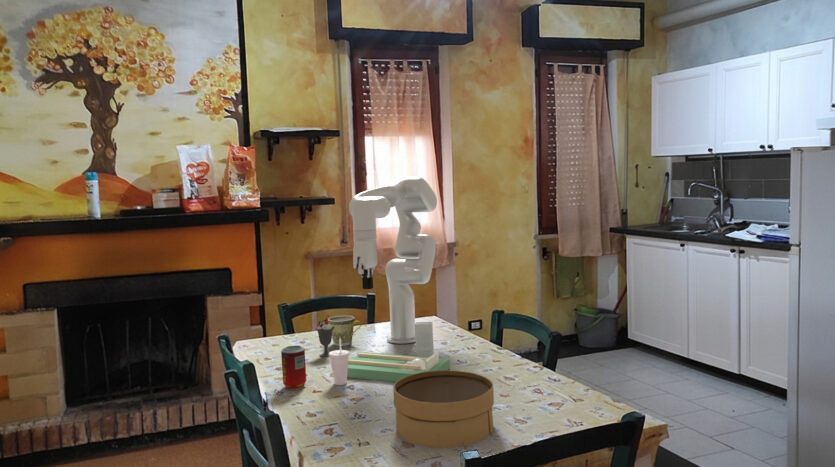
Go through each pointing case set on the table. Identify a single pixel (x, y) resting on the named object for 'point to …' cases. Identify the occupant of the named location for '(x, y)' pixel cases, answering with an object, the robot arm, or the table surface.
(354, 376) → the green
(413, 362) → the ball
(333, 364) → the smoothie
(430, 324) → the skincare box
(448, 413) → the steamer basket
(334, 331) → the ceramic cup
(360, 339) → the table surface
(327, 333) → the sundae
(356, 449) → the table surface
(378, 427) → the table surface
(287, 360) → the soda can
